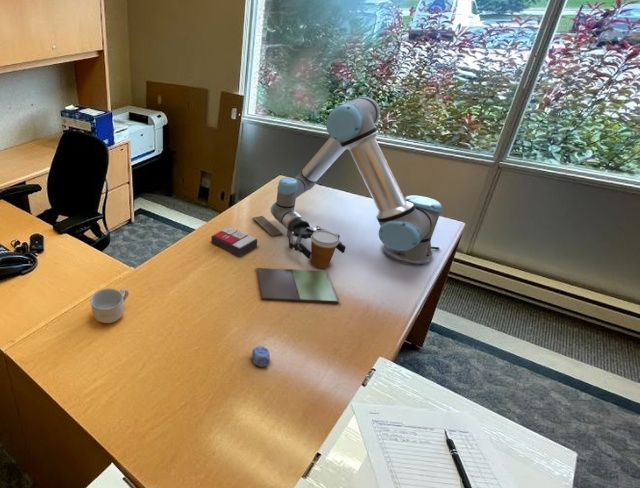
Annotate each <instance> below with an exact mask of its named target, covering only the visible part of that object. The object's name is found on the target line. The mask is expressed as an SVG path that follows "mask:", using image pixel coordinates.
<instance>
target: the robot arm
mask: <svg viewBox="0 0 640 488" xmlns="http://www.w3.org/2000/svg"><path fill="white" fill-rule="evenodd" d="M380 114H381V110H380V106H379V104H378V102H377V101H376V100H375V99H373V98H371V97H367V96H360V97H359V96H358V97H356V98H354V99H351V100H348V101H346V102H344V103H341V104H339V105H338V106H337V107H335V108H334V109H333V110H332V111H330V112H329V114H328V115H327V119H326V122H325V126H326V132H327V133H328V136H329V138H327V140H326V141H325V143H323V145H322V146H321V147H320V149H319V150H318V151H317V152H316V153H315V154H314V155H313V157H311V159H310V160H309V161H308V162H307V164H306V165H305V166H304V167H303V168H302V169H301V171H300V172H299V173H298V174H297V175H296V176H295V177H283V178H281V179H280V180H279V181H278V185H277V191H276V200H275V202H273V204H272V205H271V207H270V213H271V215H272V216H273V218H274V219H275V220H277V222H279V223H280V224H281V225H282V226H283V227H284V228H285V229H286V230H287V231H286V238H288V239H287V240H288V249H290V250H294V251H295V252H297V251H298V253H300V254H302V255H303V256H305V257H306V259H308V260H311V250H309V249H308V247H306V246H305V245H304V244H303V243H302V240H307V239H311V235H313V233H314V232H316V231H320V230H324V231H329V232H332V233H334V234H336V235H337V236H338V239H339V244H338V245H337V246H336V250H338V251H339V252H340V253H341V254H344V253H345V251H346V246H345V245H344V244H343V242H342V241H341V240H340V237H341V235H340V234H338V233H336V232H334V231H332V230H331V231H330V230H328V229H325V228H323V227H322V226H320V225H316V227H312V226H310V224H309V222H308V221H307V220H306V219H305V218H304V217H302V216H301V215H300V214H299V213H298V212H296V211H295V207H296V201H297V198H298V197H300V196H301V195H303V194H305V193H307V192H308V191H309V190H311V189H313V187H315V186H316V184H317V181H318V180H319V179H320V178H321V177H322V176H323V175H324V174H325V173H326V172H327V171H328V169H329V168H331V166H332V165H333V164H334V163H335V162H336V161H337V160H338V158H340V156H341V155H342V154H343V153H344V152H345V151H346V150H348V151H349V153H350V155H351V157H352V160H353V161H354V163H355V166H356V167H357V170H358V172H359V174H360V176H361V177H362V180H363V182H364V184H365V186H366V188H367V190H368V192H369V194H370V196H371V198H372V200H373V202H374V204H375V206H376V209H377V210H378V211H377V214H376V215H375V217H376V220H377V222H378V224H379V229H378V238H379V240H380V241H381V243H382V244H383V252H384V254H385V255H386V256H387V257H389V258H391V259H392V260H394V261H396V262H399V263H402V264H406V265H412V266H413V265H414V266H417V265H418V266H419V265H425V264H427V263H429V262H430V261H431V258H432V255H433V253H432V252H433V251H432V250H440V247H438V246H432V242H431V240H432V237H433V235H434V231H435V229H436V226H437V224H438V221H439V219H440V218H439V217H440V215H441V213H442V208H443V205H442V203H441V202H440V201H438V200H436V199H434V198H431V197H427V196H423V195H407V196H404V194H403V192H402V190H401V188H400V186H399V184H398V181H397V180H396V178H395V176H394V174H393V172H392V170H391V167H390V165H389V163H388V161H387V160H386V157H385V155H384V153H383V151H382V148H381V147H380V145H379V143H378V141H377V139H376V136H377V134H378V132H379V130H378V129H377V127H376V125H375V124H376V123H377V122H378V120H379V118H380V116H381V115H380ZM294 237H296V240H295V242H294Z"/></svg>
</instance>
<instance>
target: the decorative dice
mask: <svg viewBox="0 0 640 488" xmlns="http://www.w3.org/2000/svg"><path fill="white" fill-rule="evenodd" d="M251 353H252V355H251V356H252V362H253V364H254V365H256V366H257V367H260V368H261V367H266V366H268V365H269V364H270V362H271V357H270V351H269V349H268V348H267V347H265V346H262V345H257V346H255V347H253V349H252V352H251Z"/></svg>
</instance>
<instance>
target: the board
mask: <svg viewBox="0 0 640 488" xmlns="http://www.w3.org/2000/svg"><path fill="white" fill-rule="evenodd" d="M256 273H257V278H258V284H259V290H260V296H261V300H263V301H276V302H277V301H278V302H294V303H295V302H296V303H313V304H328V305H329V304H331V305H338V304H339V300H338V298H337V295H336V293H335V290H334V288H333V285H332V283H331V281H330V279H329V276H328V274H327V271H326V270H313V269H312V270H311V269H292V268H290V269H287V268H270V267H269V268H267V267H266V268H265V267H256Z"/></svg>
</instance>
